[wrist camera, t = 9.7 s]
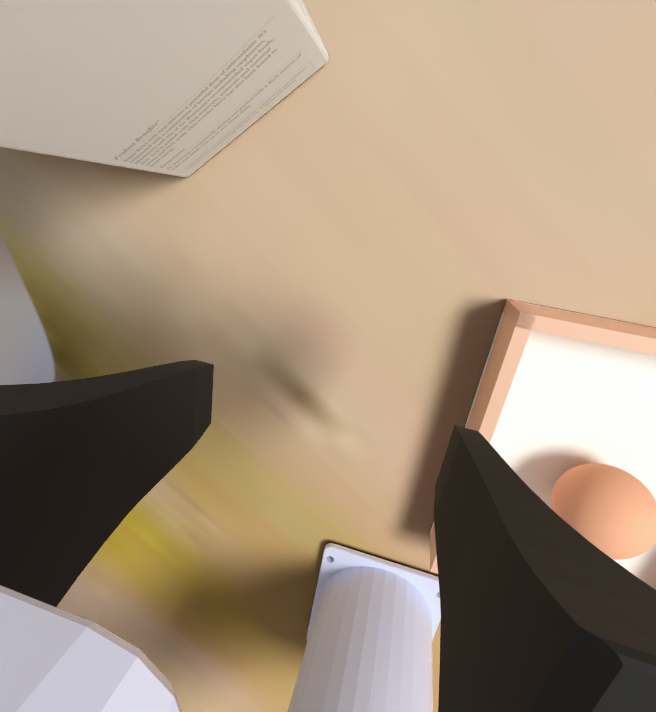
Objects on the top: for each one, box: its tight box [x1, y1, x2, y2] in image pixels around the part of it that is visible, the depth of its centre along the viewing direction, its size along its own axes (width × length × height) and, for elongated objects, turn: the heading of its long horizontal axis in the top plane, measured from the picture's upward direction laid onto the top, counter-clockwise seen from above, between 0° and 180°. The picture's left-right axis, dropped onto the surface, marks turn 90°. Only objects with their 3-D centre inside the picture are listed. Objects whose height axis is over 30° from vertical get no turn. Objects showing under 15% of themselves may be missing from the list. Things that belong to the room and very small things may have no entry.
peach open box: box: [430, 299, 656, 590], centre depth 18 cm, size 14×12×3 cm
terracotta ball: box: [551, 463, 656, 560], centre depth 17 cm, size 4×4×4 cm
